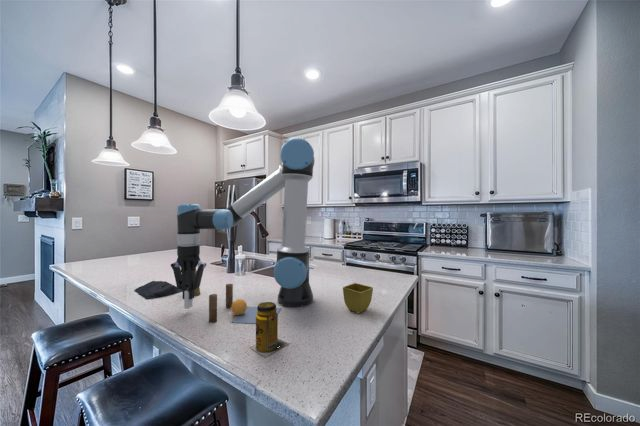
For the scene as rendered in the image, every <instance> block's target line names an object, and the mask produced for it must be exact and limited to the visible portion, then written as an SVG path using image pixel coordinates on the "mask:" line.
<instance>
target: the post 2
mask: <svg viewBox="0 0 640 426" xmlns="http://www.w3.org/2000/svg"><path fill="white" fill-rule="evenodd" d="M233 287H234V284H233V283H227V284H225V309H231V306H232V304H233V302H234V301H233V300H234V298H233V296H234V293H233V292H234V291H233V289H234V288H233Z"/></svg>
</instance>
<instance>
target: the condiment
mask: <svg viewBox="0 0 640 426" xmlns="http://www.w3.org/2000/svg"><path fill="white" fill-rule="evenodd" d="M256 307H257V315H256V324H255V344H253V345H251V346H249V348H250V349H252V350H253V351H255V352H256V353H258V354H260V355H261V356H263V357H265V358H267V357H268V356H270V355H272V354H273V353H275V352H277V351H279V350H280V349H282V348H285V347H286V346H287V345H289V344H290V343H289V342H286V341H284V340H283V339H280V338H278V329H279V327H278V322H279V321H278V320H279V319H278V318H279V317H278V316H279V314H278V315H277V313H276V308H277V304H276V302H275V303H274V302H272V301H265V302H261V303H259V304H258V305H257V306H256ZM279 346H280V347H279ZM277 347H279V348H277Z"/></svg>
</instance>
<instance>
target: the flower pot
mask: <svg viewBox="0 0 640 426" xmlns="http://www.w3.org/2000/svg"><path fill="white" fill-rule="evenodd" d="M373 289H374V287H372V286H369V285H364V284H361V283H359V282H358V283H357V282H354V283H351V284H348V285H345V286H343V287H342V293H343V301H344V303H345V306H346V307H347V309H348V310H349V311H351V310H352V311H351V312H354V311H355V312H354V313H357V312H358V313H357V314H361V313H363V312H365V311H367V310H368V308H369V306H370V305H371V302H372V297H373V291H374V290H373ZM364 310H365V311H364ZM362 311H363V312H362ZM360 312H361V313H360Z"/></svg>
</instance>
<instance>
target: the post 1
mask: <svg viewBox="0 0 640 426" xmlns="http://www.w3.org/2000/svg"><path fill="white" fill-rule="evenodd" d="M217 321H218V294H217V293H212V294H209V295H208V322H209V323H210V324H213V323H216V322H217Z"/></svg>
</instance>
